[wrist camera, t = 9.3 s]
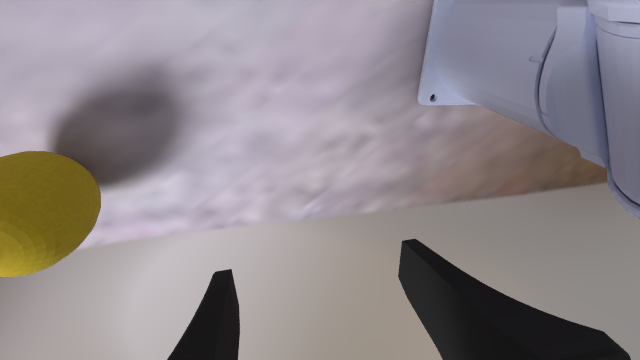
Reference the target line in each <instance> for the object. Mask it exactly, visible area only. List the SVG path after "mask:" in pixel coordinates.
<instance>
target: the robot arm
mask: <svg viewBox="0 0 640 360" xmlns="http://www.w3.org/2000/svg"><path fill="white" fill-rule="evenodd" d="M433 94H434V99H433V100H431V101H430V97H431V96H432V95H433ZM417 100H418V102H419V103H420V104H422V105H425V106H427V105H481V106H483V107H485V108H487V109H490V110H492V111H494V112H497V113H499V114H501V115H504V116H506V117H508V118H511V119H513V120H515V121H518V122H520V123H522V124H524V125H527V126H529V127H531V128H534V129H536V130H538V131H541V132H543V133H545V134H548V135H550V136H552V137H555V138H557V139H560V140H561V141H564V142H566V143H568V144H570V145H573V146H575V147H577V148H578V149H579V151H580V153H581V157H582V158H585V159H587V160H589V161H591V162H593V163H596V164H598V165H600V166H602V167H604V168H608V169H607V176H608V185H609V188H610V191H611V193H612V195H613V196H614V197H615V199H616V201H617V202H618V203H619V204H620V205H621V206H622V207H623V208H624V209H625V210H626V211H627V212H629V213H630V214H632V215H633V216H635V217H636V218H638V219H640V0H434V3H433V9H432V15H431V21H430V26H429V32H428V38H427V44H426V50H425V55H424V61H423V67H422V73H421V79H420V85H419V90H418V96H417ZM398 277H399V280H400V282H401V284H402V287H403V289H404V291H405V294H406V296H407V298H408V300H409V301H410V303H411V305H412V307H413V308H414V310H415V312H416V313H417V315H418V317H419V318H420V320H421V322H422V324H423V325H424V327H425V329H426V330H427V332H428V333H429V335H430V337H431V339H432V340H433V342H434V344H435V345H436V347H437V349H438V351H439V353H440V355H441V357H442V359H443V360H631V359H630V356H629V354H628V353H627V352H626V351H624V349H622V348H621V347H620V346H619V345H618V344H617V343H615V342H614V341H613V340H612V339H611V338H610V337H609V336H608V335H607V334H605V333H604V332H603V331H600V330H596V329H593V328H590V327H587V326H583V325H580V324H577V323H574V322H570V321H567V320H565V319H562V318H559V317H556V316H554V315H551V314H548V313H545V312H543V311H540V310H538V309H536V308H533V307H531V306H529V305H526V304H524V303H522V302H519V301H517V300H515V299H513V298H511V297H509V296H506V295H504V294H503V293H500V292H499V291H497V290H495V289H493V288H491V287H489V286H487V285H485V284H484V283H482V282H480V281H478V280H477V279H475V278H473V277H472V276H470V275H468V274H467V273H465V272H463V271H462V270H460V269H459V268H457V267H456V266H454V265H453V264H451V263H450V262H448V261H447V260H445V259H444V258H442V257H441V256H440V255H438V254H437V253H435V252H434V251H432V250H431V249H429V248H428V247H426V246H425V245H424V244H422V243H421V242H419V241H418V240H416V239H411V240H405V241H402V247H401V256H400V265H399V275H398ZM239 321H240V320H239V304H238V299H237V294H236V289H235V284H234V279H233V275H232V270H231V269H229V270H223V271H218V272H215V273H214V274H213V276H212V279H211V281H210V284H209V286H208V289H207V291H206V293H205V295H204V297H203V300H202V301H201V303H200V305H199V307H198V309H197V311H196V313H195V315H194V317H193V319H192V320H191V323H190V324H189V326H188V327H187V329H186V331H185V333H184V334H183V336H182V338H181V339H180V341H179V342H178V344H177V346H176V347H175V349H174V350H173V352H172V353H171V355H170V356H169V358H168V359H167V360H238V349H239V335H240V322H239Z"/></svg>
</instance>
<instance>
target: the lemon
mask: <svg viewBox="0 0 640 360" xmlns="http://www.w3.org/2000/svg"><path fill="white" fill-rule="evenodd" d="M100 208H101V194H100V190H99V187H98V184H97V182H96V180H95V179H94V177H93V176H92V174H91V173H90V172H89V171H88V170H87V169H86V168H85V167H84V166H82V165H81V164H79V163H78V162H76V161H74V160H73V159H71V158H68V157H66V156H63V155H60V154H55V153H50V152H45V151H27V152H20V153H16V154H11V155H7V156H3V157H0V277H14V276H22V275H28V274H32V273H35V272H38V271H40V270H43V269H45V268H48V267H50V266H52V265H54V264H55V263H57V262H58V261H60V260H61V259H63V258H64V257H66V256H67V255H69V254H70V253H71V252H73V251H74V250H75V249H76V248H77V247H78V246H79V245H80V244H81V243H82V242H83V241H84V239H85V238H86V237H87V236H88V234H89V233H90V232H91V231H92V229H93V227H94V226H95V224H96V221H97V218H98V215H99V212H100Z"/></svg>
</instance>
